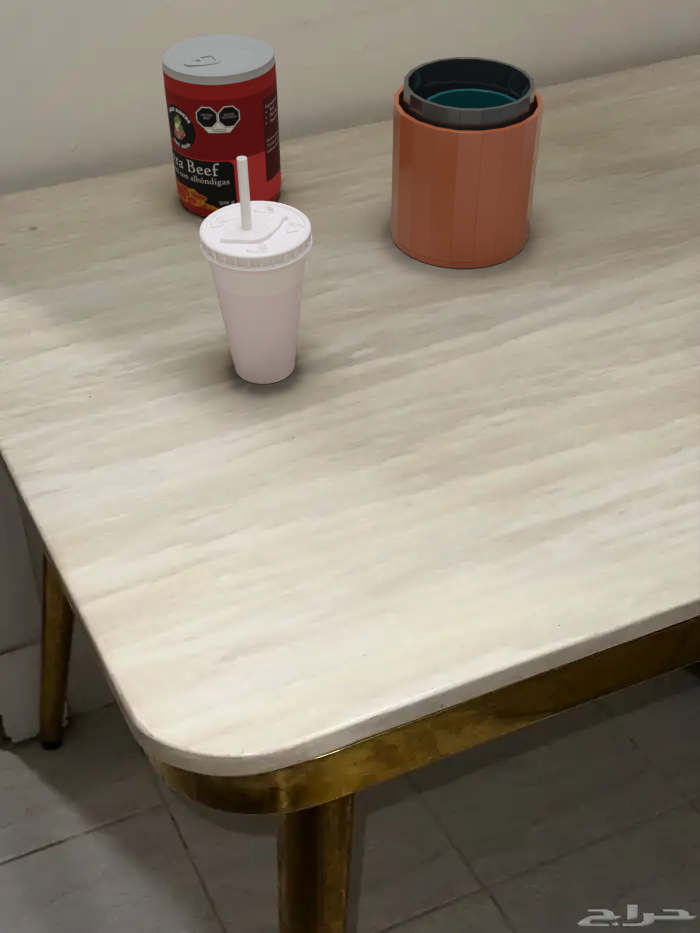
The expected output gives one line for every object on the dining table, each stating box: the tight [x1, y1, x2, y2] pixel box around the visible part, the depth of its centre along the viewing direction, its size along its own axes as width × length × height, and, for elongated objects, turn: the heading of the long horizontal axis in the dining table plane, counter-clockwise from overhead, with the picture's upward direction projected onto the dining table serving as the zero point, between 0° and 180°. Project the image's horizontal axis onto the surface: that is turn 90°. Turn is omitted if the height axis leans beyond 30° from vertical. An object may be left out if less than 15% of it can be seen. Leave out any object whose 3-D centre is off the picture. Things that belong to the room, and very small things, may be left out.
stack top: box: [403, 56, 536, 131], centre depth 77 cm, size 9×9×11 cm
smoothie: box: [198, 156, 313, 385], centre depth 64 cm, size 6×6×14 cm
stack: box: [390, 83, 544, 269], centre depth 77 cm, size 10×10×10 cm
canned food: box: [161, 33, 282, 218], centre depth 81 cm, size 8×8×11 cm
